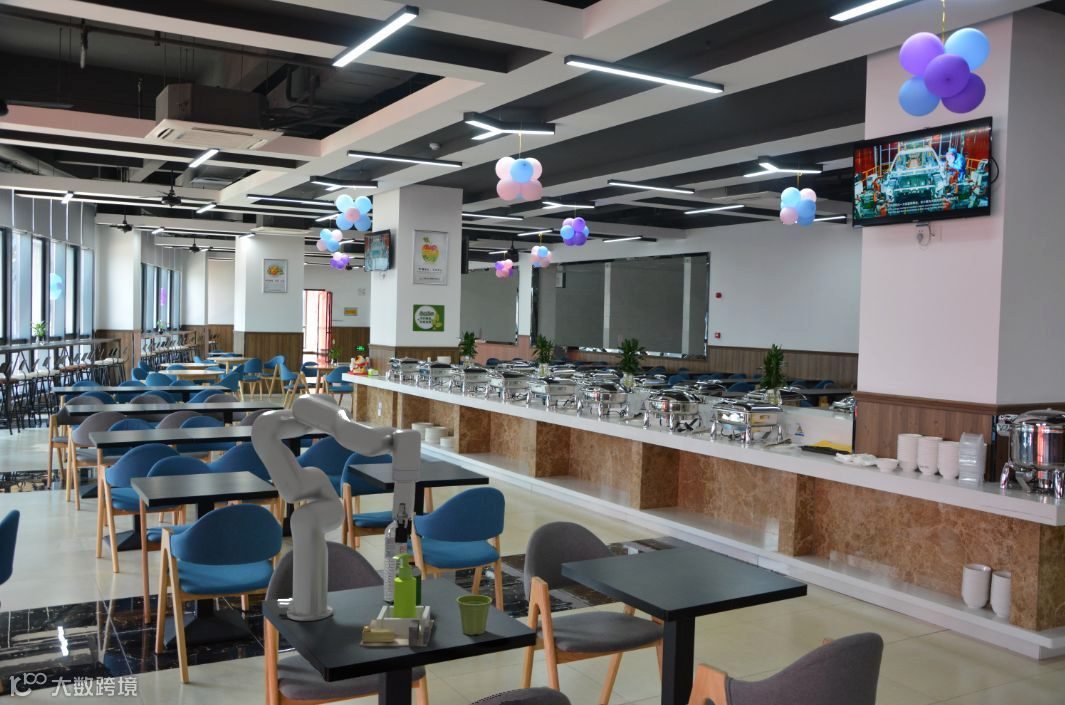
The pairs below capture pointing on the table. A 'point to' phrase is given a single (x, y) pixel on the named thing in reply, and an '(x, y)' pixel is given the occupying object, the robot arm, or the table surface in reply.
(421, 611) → the dock
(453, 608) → the table surface
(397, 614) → the soap dispenser
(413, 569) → the soda can
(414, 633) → the base board
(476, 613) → the plant pot
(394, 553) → the water bottle
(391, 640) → the tan rectangular block
